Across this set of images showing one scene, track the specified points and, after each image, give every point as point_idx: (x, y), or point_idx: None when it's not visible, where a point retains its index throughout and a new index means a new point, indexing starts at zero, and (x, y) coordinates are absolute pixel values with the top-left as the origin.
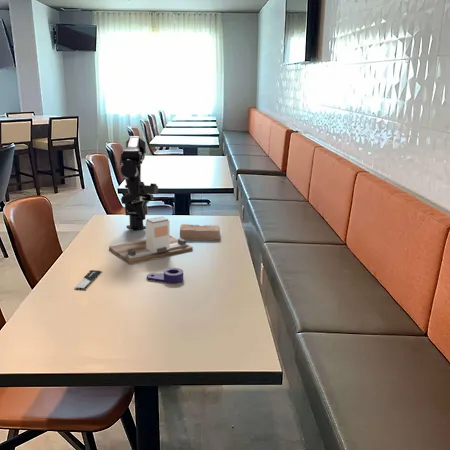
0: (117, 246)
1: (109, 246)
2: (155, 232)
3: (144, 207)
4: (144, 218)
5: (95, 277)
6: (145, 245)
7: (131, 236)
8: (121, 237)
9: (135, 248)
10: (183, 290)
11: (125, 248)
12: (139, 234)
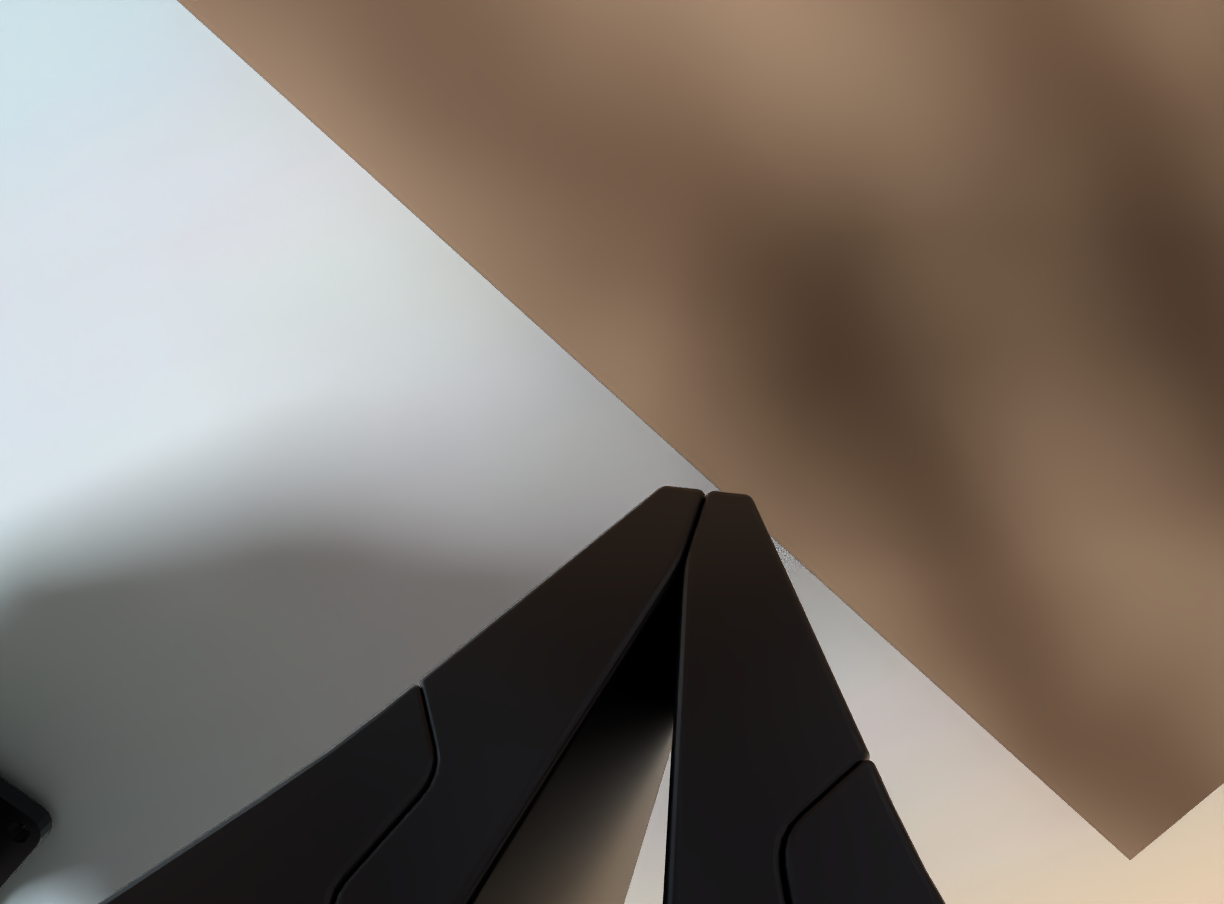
0: (1107, 731)
1: (1124, 851)
2: None
3: (436, 888)
4: (745, 506)
5: None
6: (981, 249)
7: None
8: None
9: (1182, 382)
10: None
11: (1199, 562)
12: (209, 640)
